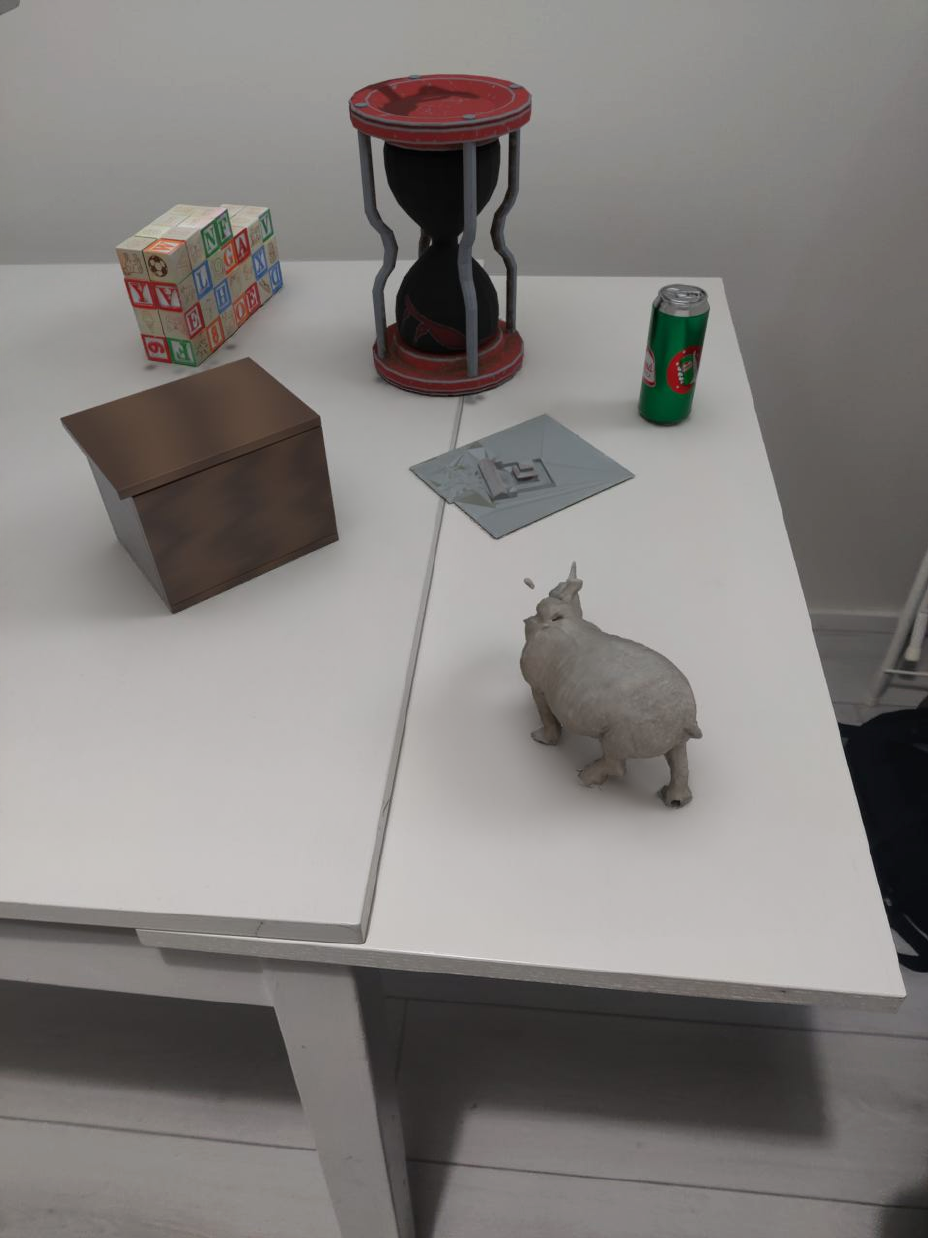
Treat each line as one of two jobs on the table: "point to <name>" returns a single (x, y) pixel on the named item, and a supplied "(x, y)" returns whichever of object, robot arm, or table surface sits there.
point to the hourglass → (443, 226)
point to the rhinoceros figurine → (607, 692)
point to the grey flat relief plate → (521, 474)
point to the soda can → (673, 353)
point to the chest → (228, 519)
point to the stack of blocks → (199, 277)
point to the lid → (187, 426)
